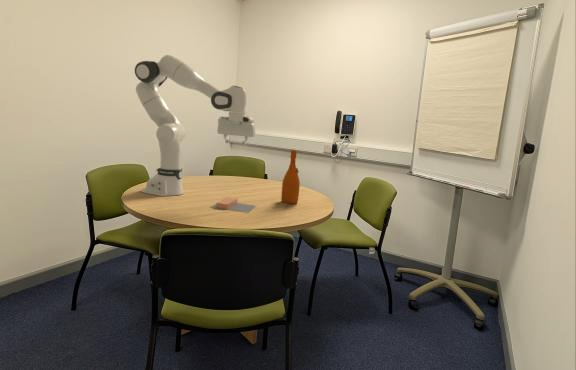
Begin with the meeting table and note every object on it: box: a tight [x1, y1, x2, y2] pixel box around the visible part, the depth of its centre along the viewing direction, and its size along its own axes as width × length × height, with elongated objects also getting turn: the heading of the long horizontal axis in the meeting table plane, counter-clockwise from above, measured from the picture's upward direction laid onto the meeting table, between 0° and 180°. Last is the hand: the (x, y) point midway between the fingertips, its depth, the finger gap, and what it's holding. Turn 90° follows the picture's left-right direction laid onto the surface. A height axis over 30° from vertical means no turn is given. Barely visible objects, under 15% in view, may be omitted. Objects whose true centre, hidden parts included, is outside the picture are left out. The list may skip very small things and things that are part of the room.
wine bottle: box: [280, 149, 301, 205], centre depth 199 cm, size 10×10×30 cm
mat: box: [209, 202, 257, 214], centre depth 180 cm, size 20×15×1 cm
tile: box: [215, 196, 239, 210], centre depth 181 cm, size 6×2×14 cm
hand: (235, 144), depth 189 cm, fingers open, 8 cm apart
